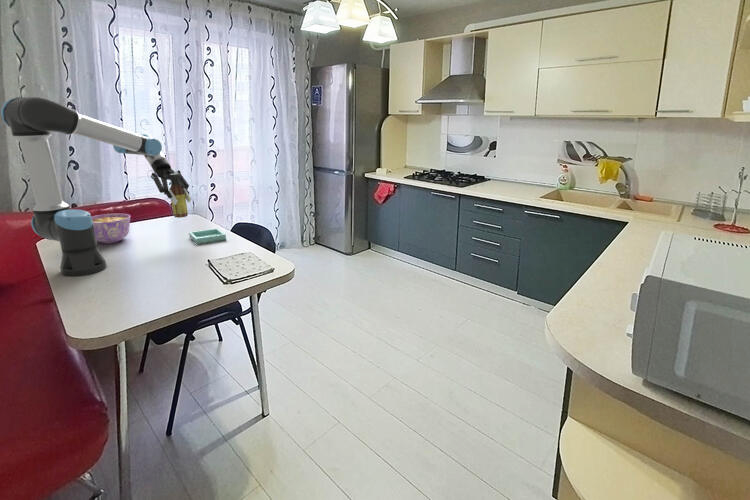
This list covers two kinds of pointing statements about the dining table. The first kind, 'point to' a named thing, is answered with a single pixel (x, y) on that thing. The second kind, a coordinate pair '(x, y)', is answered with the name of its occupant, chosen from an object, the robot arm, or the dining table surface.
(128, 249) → the dining table surface
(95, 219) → the bowl of food
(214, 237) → the tray
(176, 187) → the sauce bottle
